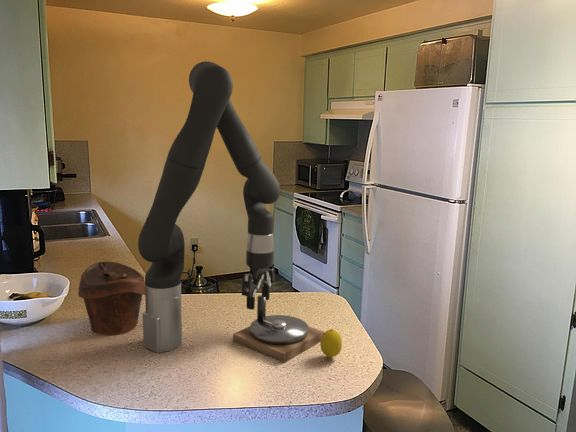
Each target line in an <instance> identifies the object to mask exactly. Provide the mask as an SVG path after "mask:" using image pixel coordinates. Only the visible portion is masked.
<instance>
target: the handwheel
mask: <svg viewBox="0 0 576 432" xmlns="http://www.w3.org/2000/svg"><path fill="white" fill-rule="evenodd" d="M256 299H257V300H256V301H257V304H256V305H257V307H256V308H257V309H256V319H254V320H253V321H252V322H251V324H250V325H249V326H250V333H251V335H252V337H254V338H255V339H257V340H259V341H261V342H264V343H269V344H291V343H296V342H299V341H301V340H303V339H305V338H306V337H307V335H308V326H309V325H308V324H307V323H306V321H305V320H302V319H300V318H299V317H295V316H292V315H283V314H282V315H281V314H274V315H273V314H272V315H266V314H267V309H266V307H267V300H266V296H264V295H262V294H261V295H260V294H259V295H257V298H256Z"/></svg>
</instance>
